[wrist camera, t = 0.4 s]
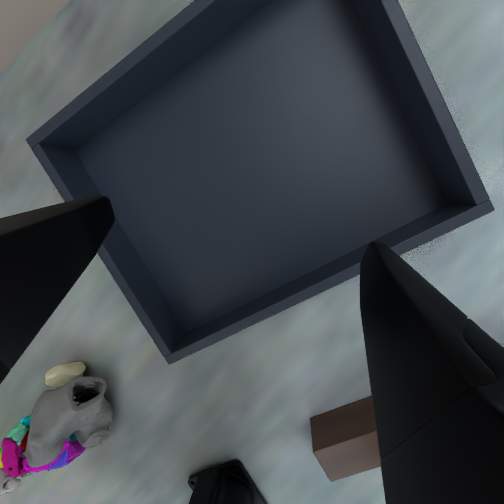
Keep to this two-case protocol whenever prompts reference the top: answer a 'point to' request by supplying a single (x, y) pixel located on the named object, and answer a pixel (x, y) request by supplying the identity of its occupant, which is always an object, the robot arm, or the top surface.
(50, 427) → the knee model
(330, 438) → the stick
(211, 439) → the top surface
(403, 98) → the tin
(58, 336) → the top surface
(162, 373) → the top surface
